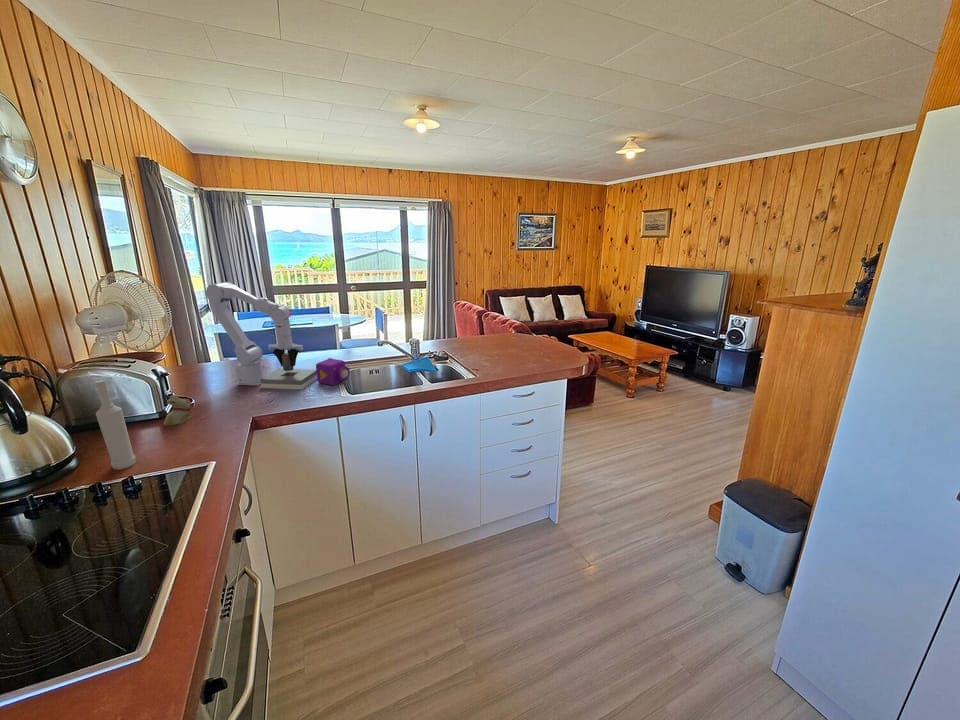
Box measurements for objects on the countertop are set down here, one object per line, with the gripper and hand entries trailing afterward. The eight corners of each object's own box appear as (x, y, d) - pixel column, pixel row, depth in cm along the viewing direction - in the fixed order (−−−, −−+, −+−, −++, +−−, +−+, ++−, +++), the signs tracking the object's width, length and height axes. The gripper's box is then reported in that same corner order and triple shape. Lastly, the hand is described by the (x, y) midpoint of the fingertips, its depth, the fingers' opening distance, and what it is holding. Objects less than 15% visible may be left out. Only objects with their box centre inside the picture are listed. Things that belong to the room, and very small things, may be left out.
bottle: (122, 460, 113) (97, 378, 106) (141, 459, 114) (118, 377, 106) (107, 470, 108) (80, 384, 101) (127, 469, 109) (102, 384, 101)
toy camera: (343, 387, 169) (341, 365, 166) (314, 385, 172) (311, 363, 169) (355, 379, 179) (353, 358, 176) (328, 377, 182) (326, 356, 179)
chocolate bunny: (192, 421, 137) (186, 395, 134) (163, 427, 133) (156, 399, 130) (193, 416, 141) (187, 389, 138) (165, 421, 137) (159, 394, 134)
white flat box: (261, 387, 168) (260, 379, 167) (280, 376, 181) (278, 368, 180) (302, 389, 166) (301, 380, 165) (318, 378, 180) (317, 369, 179)
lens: (281, 371, 170) (278, 355, 168) (286, 368, 174) (284, 352, 172) (290, 371, 170) (288, 355, 168) (295, 368, 174) (293, 352, 172)
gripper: (261, 337, 164) (266, 368, 168) (295, 337, 163) (299, 369, 167) (271, 333, 171) (276, 363, 175) (304, 333, 170) (307, 364, 174)
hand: (288, 365), depth 172 cm, fingers closed on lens, 4 cm apart
